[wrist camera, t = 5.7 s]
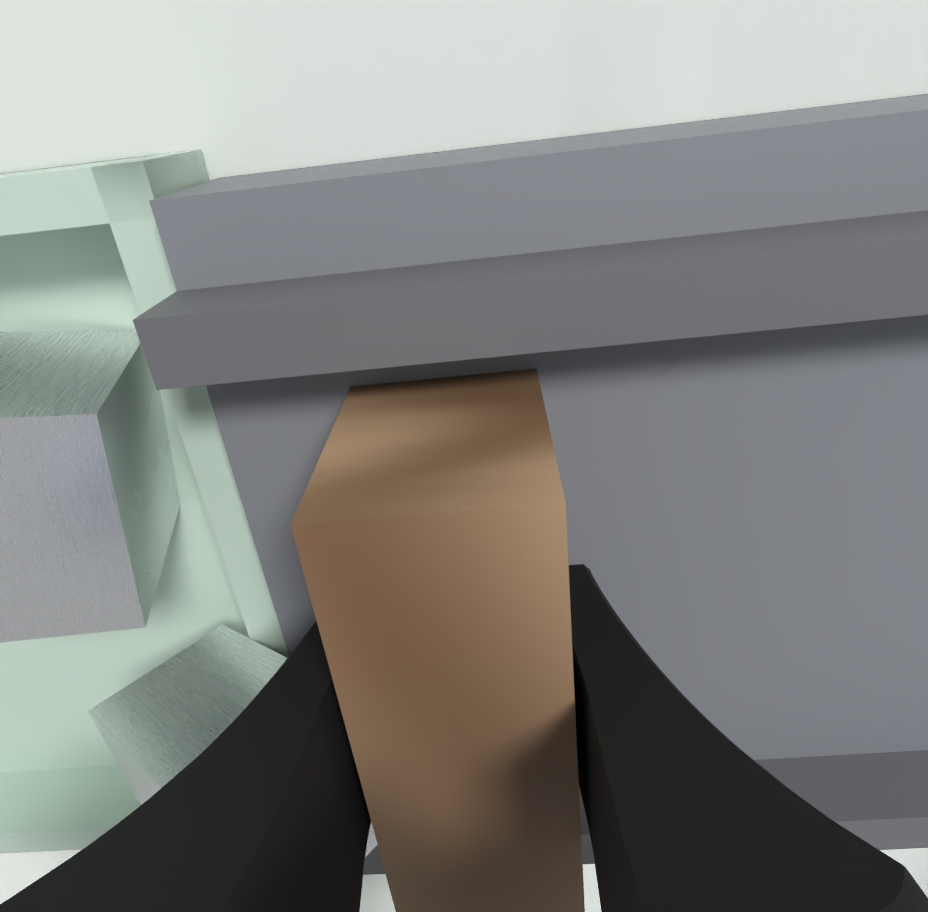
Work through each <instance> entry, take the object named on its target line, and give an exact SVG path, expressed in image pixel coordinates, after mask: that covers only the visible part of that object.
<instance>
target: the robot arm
mask: <svg viewBox="0 0 928 912" xmlns="http://www.w3.org/2000/svg"><path fill="white" fill-rule="evenodd" d="M569 586H570V608H571V629H572V651H573V672H574V694H575V715H576V737H577V758H578V780H579V788H580V792H581V796H582V801H583V805H584V809H585V814H586V818H587V822H588V827H589V832H590V838H591V843H592V848H593V853H594V860H595V867H596V875H597V882H598V889H599V896H600V903H601V910H602V912H928V898H927V897H926V895H925V894H924V892H923V891H922V890H921V888H920V887H919V885H918V884H917V883H916V881H915V880H914V878H913V877H912V876H911V874H910V873H909V872H908V870H907V869H906V868H905V867H904V866H903V865H901V864H900V863H898V862H897V861H895V860H894V859H892V858H891V857H889V856H887V855H886V854H884V853H883V852H881V851H880V850H878V849H877V848H875V847H873V846H872V845H870V844H869V843H867V842H866V841H864V840H862V839H861V838H859V837H858V836H856V835H855V834H853V833H852V832H850V831H848V830H847V829H845V828H844V827H842V826H841V825H839V824H838V823H836V822H834V821H833V820H831V819H830V818H828V817H827V816H826V815H824V814H823V813H822V812H820V811H819V810H817V809H816V808H815V807H813V806H812V805H811V804H809V803H808V802H806V801H805V800H804V799H802V798H801V797H800V796H798V795H797V794H796V793H794V792H793V791H792V790H790V789H789V788H788V787H787V786H785V785H784V784H783V783H782V782H780V781H779V780H778V779H777V778H775V777H774V776H773V775H772V774H771V773H769V772H768V771H767V770H766V769H764V768H763V767H762V766H761V765H759V764H758V763H757V762H756V761H754V760H753V759H752V758H751V757H749V756H748V755H747V754H746V753H745V752H743V751H742V750H741V749H740V748H739V747H737V746H736V745H735V744H734V743H733V742H732V741H731V740H730V739H729V738H727V737H726V736H725V735H724V734H723V733H722V732H721V731H720V730H719V729H718V728H717V727H715V726H714V725H713V724H712V723H711V722H710V721H709V720H708V719H707V718H706V717H705V716H704V715H703V714H702V713H701V712H700V711H699V710H698V709H697V708H696V707H695V706H694V705H693V704H692V703H691V702H690V701H689V700H688V699H687V698H686V697H685V696H684V695H683V694H682V693H681V692H680V691H679V690H678V689H677V688H676V686H675V685H674V684H673V683H672V682H671V681H670V680H669V679H668V678H667V676H666V675H665V674H664V673H663V672H662V671H661V670H660V669H659V667H658V666H657V665H656V664H655V663H654V662H653V660H652V659H651V658H650V657H649V656H648V654H647V653H646V652H645V651H644V649H643V648H642V647H641V646H640V644H639V643H638V642H637V640H636V639H635V638H634V637H633V635H632V634H631V633H630V631H629V630H628V629H627V627H626V626H625V625H624V623H623V622H622V621H621V619H620V618H619V616H618V615H617V614H616V612H615V611H614V609H613V608H612V606H611V605H610V603H609V602H608V600H607V599H606V597H605V596H604V594H603V592H602V591H601V589H600V588H599V586H598V584H597V582H596V581H595V579H594V577H593V575H592V573H591V571H590V569H589V568H588V567H586V566H585V565H584V564H579V565H569ZM370 824H371V818H370V815H369V811H368V807H367V804H366V800H365V796H364V793H363V789H362V785H361V782H360V778H359V774H358V771H357V767H356V763H355V760H354V756H353V752H352V749H351V745H350V741H349V738H348V734H347V731H346V727H345V723H344V720H343V716H342V712H341V709H340V705H339V701H338V698H337V694H336V690H335V687H334V683H333V679H332V676H331V672H330V668H329V665H328V661H327V657H326V654H325V650H324V646H323V643H322V639H321V635H320V632H319V628H318V624H317V621H315V622H314V624H313V625H312V626H311V628H310V629H309V631H308V632H307V633H306V635H305V636H304V637H303V639H302V640H301V641H300V642H299V644H298V645H297V646H296V648H295V649H294V650H293V652H292V653H291V654H290V655H289V657H288V658H287V659H286V661H285V662H284V663H283V664H282V666H281V667H280V668H279V669H278V671H277V672H276V673H275V674H274V675H273V677H272V678H271V679H270V680H269V681H268V682H267V684H266V685H265V686H264V687H263V688H262V689H261V691H260V692H259V693H258V694H257V695H256V696H255V698H254V699H253V700H252V701H251V702H250V703H249V705H248V706H247V707H246V708H245V709H244V710H243V711H242V712H241V713H240V714H239V715H238V717H237V718H236V719H235V720H234V721H233V722H232V723H231V724H230V725H229V726H228V727H227V728H226V729H225V730H224V731H223V732H222V733H221V734H220V735H219V736H218V737H217V738H216V739H215V740H214V741H213V742H212V743H211V744H210V745H209V746H208V747H207V748H206V749H205V750H204V751H203V752H202V753H201V754H200V755H199V756H198V757H197V758H195V759H194V760H193V761H192V762H191V763H190V764H189V765H187V766H186V767H185V768H184V769H183V770H182V771H180V772H179V773H178V774H177V775H176V776H175V777H174V778H172V779H171V780H170V781H169V782H168V783H167V784H165V785H164V786H163V787H162V788H161V789H160V790H159V791H157V792H156V793H155V794H154V795H153V796H152V797H151V798H149V799H148V800H147V801H146V802H144V803H143V804H142V805H141V806H139V807H138V808H137V809H136V810H134V811H133V812H132V813H130V814H129V815H128V816H127V817H125V818H124V819H123V820H122V821H120V822H119V823H118V824H116V825H115V826H114V827H112V828H111V829H110V830H108V831H107V832H106V833H104V834H103V835H102V836H100V837H99V838H98V839H96V840H95V841H94V842H92V843H91V844H89V845H88V846H87V847H85V848H84V849H83V850H81V851H80V852H78V853H77V854H75V855H74V856H73V857H71V858H70V859H68V860H67V861H65V862H64V863H62V864H61V865H59V866H58V867H56V868H55V869H53V870H52V871H50V872H49V873H47V874H46V875H44V876H43V877H41V878H40V879H38V880H37V881H35V882H34V883H32V884H31V885H29V886H28V887H26V888H25V889H23V890H22V891H20V892H19V893H17V894H16V895H14V896H13V897H11V898H10V899H8V900H7V901H5V902H3V903H2V904H0V912H359V909H360V899H361V888H362V878H363V868H364V860H365V854H366V847H367V841H368V835H369V829H370Z"/></svg>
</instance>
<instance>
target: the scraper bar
mask: <svg viewBox="0 0 928 912" xmlns="http://www.w3.org/2000/svg"><path fill="white" fill-rule="evenodd" d="M290 526H291V529H292V533H293V537H294V540H295V544H296V548H297V551H298V555H299V559H300V562H301V566H302V570H303V573H304V577H305V581H306V584H307V588H308V592H309V595H310V599H311V603H312V606H313V610H314V613H315V617H316V621H317V624H318V628H319V632H320V635H321V639H322V643H323V646H324V650H325V654H326V657H327V661H328V665H329V668H330V672H331V676H332V679H333V683H334V687H335V690H336V694H337V698H338V701H339V705H340V709H341V712H342V716H343V720H344V723H345V727H346V731H347V734H348V738H349V741H350V745H351V749H352V752H353V756H354V760H355V763H356V767H357V771H358V774H359V778H360V782H361V785H362V789H363V793H364V796H365V800H366V804H367V807H368V811H369V815H370V818H371V822H372V826H373V829H374V833H375V837H376V840H377V844H378V848H379V851H380V855H381V859H382V862H383V866H384V870H385V873H386V877H387V880H388V884H389V888H390V891H391V895H392V899H393V902H394V906H395V910H396V912H585V909H584V887H583V866H582V844H581V823H580V801H579V780H578V758H577V737H576V715H575V694H574V672H573V651H572V629H571V608H570V586H569V565H568V543H567V522H566V502H565V497H564V492H563V488H562V483H561V479H560V474H559V469H558V465H557V460H556V456H555V451H554V446H553V442H552V437H551V433H550V428H549V423H548V419H547V414H546V410H545V405H544V400H543V396H542V391H541V387H540V382H539V377H538V373H537V369H526V370H516V371H506V372H495V373H485V374H475V375H464V376H454V377H444V378H433V379H423V380H412V381H402V382H392V383H381V384H371V385H361V386H350V389H349V391H348V393H347V395H346V398H345V400H344V402H343V405H342V407H341V409H340V412H339V414H338V416H337V419H336V421H335V423H334V425H333V428H332V430H331V432H330V435H329V437H328V439H327V442H326V444H325V446H324V448H323V451H322V453H321V455H320V458H319V460H318V462H317V465H316V467H315V469H314V471H313V474H312V476H311V478H310V481H309V483H308V485H307V488H306V490H305V492H304V494H303V497H302V499H301V501H300V504H299V506H298V508H297V511H296V513H295V515H294V518H293V520H292V522H291V524H290Z"/></svg>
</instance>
